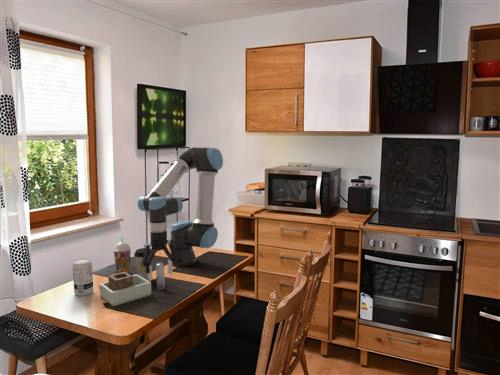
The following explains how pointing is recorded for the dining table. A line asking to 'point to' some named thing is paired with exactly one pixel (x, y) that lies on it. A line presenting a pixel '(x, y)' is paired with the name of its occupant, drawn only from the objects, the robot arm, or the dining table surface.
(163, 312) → the dining table surface
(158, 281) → the steel peg
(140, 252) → the coffee cup
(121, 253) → the smoothie
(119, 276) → the socket block
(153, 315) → the dining table surface
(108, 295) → the crate
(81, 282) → the supplement can
